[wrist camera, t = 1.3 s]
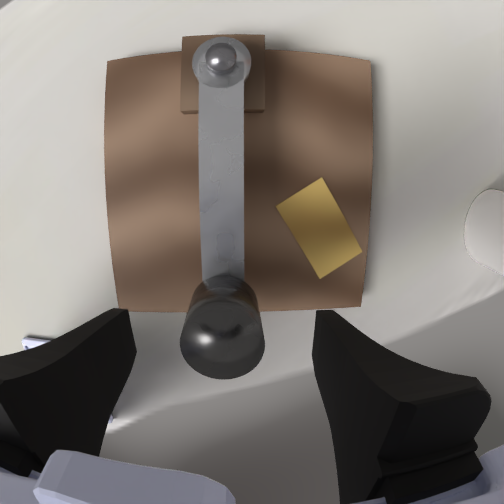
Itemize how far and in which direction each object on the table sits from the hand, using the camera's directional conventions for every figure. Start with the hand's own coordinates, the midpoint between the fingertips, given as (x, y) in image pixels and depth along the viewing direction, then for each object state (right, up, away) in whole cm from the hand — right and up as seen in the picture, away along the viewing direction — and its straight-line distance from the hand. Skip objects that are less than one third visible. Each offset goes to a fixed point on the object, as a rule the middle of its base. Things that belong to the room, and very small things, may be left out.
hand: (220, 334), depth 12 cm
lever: (-1, +7, +7) cm, 9 cm away
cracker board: (0, +8, +10) cm, 13 cm away
